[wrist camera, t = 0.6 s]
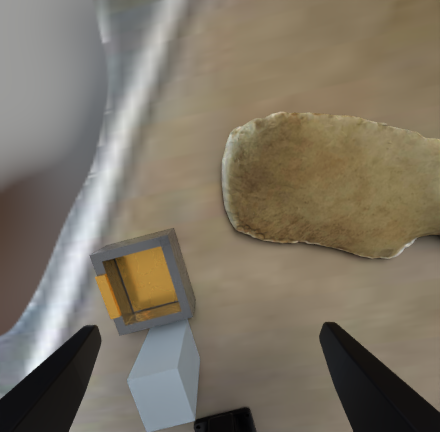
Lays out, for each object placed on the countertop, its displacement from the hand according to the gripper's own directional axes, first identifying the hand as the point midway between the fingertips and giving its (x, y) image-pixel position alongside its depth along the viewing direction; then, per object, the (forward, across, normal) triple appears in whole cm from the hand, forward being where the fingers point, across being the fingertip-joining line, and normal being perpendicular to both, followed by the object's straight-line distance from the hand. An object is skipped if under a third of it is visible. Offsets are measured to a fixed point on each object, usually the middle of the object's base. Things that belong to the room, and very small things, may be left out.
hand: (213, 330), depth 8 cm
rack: (+11, +6, +7) cm, 14 cm away
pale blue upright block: (+9, +4, +14) cm, 17 cm away
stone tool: (+14, -13, -1) cm, 19 cm away
